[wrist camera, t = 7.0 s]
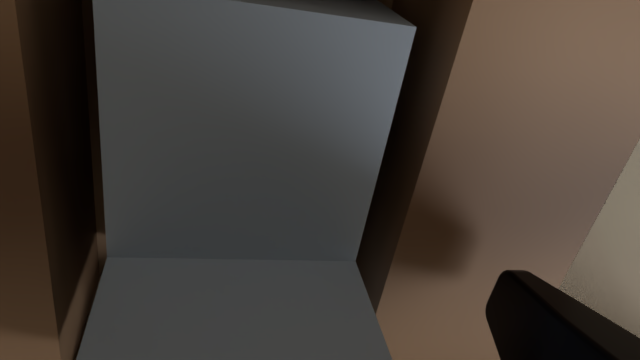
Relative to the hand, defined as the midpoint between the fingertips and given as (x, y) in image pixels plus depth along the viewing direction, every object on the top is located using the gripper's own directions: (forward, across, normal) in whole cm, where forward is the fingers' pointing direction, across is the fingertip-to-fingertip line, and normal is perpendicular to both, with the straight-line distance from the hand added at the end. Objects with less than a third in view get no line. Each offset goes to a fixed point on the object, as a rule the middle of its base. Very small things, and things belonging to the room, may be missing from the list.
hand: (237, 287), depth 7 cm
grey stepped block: (+4, 0, -1) cm, 4 cm away
